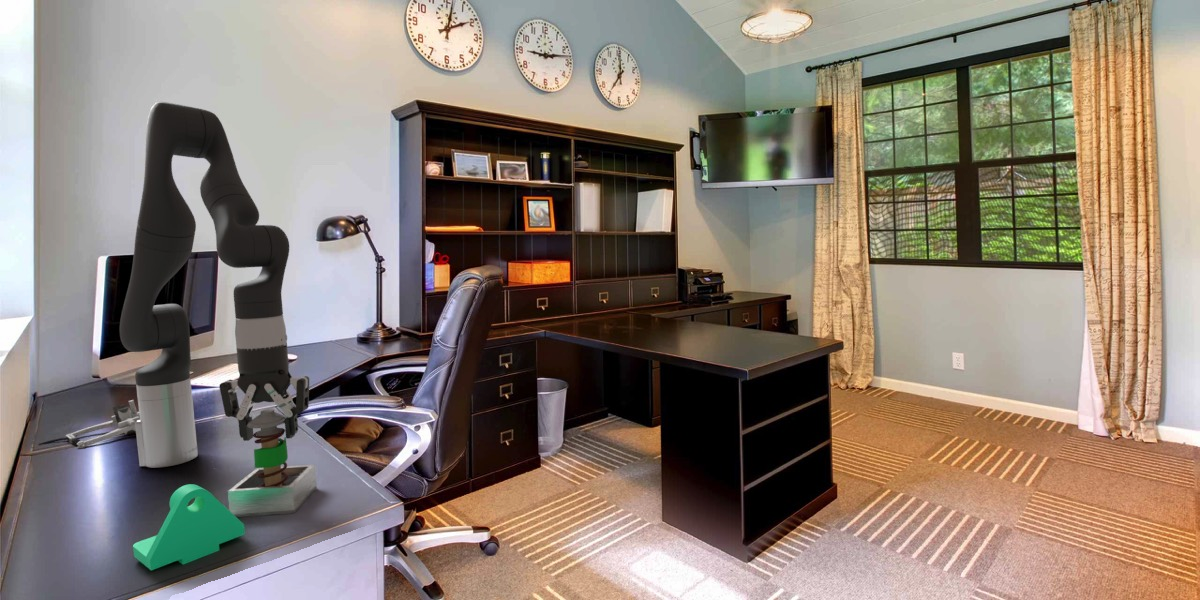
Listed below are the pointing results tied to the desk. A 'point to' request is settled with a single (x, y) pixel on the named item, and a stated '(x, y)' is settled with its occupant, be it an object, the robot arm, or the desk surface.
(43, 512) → the desk surface
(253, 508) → the square tray
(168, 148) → the robot arm
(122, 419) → the bike brake
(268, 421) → the shock absorber
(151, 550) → the camera mount
